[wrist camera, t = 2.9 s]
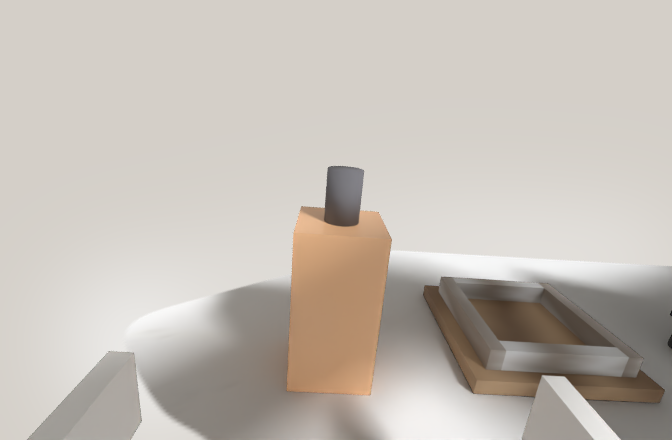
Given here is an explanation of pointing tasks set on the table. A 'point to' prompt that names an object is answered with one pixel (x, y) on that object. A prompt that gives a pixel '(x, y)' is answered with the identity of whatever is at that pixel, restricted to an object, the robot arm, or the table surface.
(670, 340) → the magazine
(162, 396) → the table surface
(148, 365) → the table surface
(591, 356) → the tray
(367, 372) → the orange bottle
